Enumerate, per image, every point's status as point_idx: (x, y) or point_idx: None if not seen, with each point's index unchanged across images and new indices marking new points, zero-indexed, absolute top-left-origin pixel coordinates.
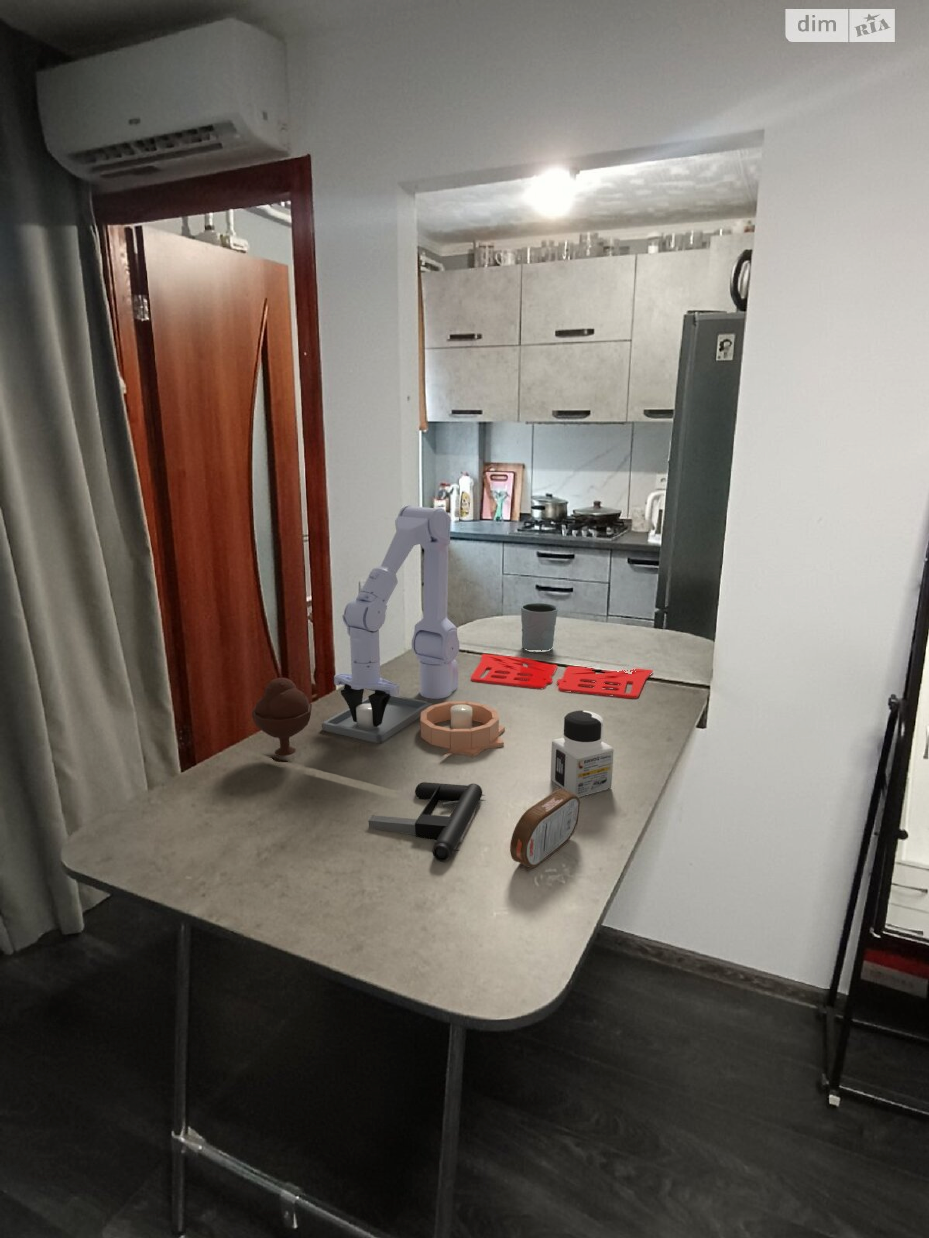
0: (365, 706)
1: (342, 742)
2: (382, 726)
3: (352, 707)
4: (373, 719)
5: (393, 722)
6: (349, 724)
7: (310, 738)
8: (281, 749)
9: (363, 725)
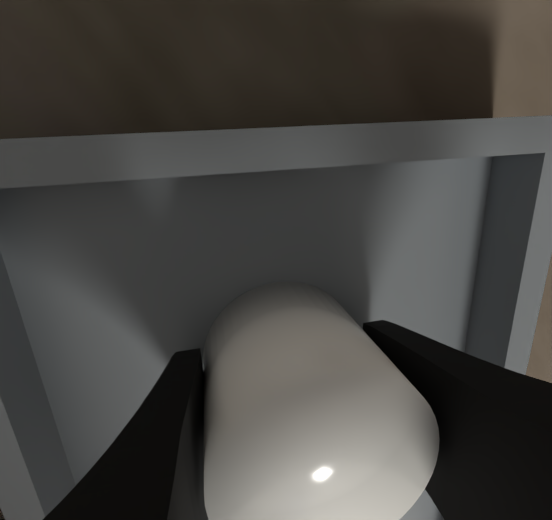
0: (361, 481)
1: (301, 85)
2: None
3: (464, 379)
4: (184, 378)
5: None
6: (400, 298)
7: (534, 23)
8: None
9: (265, 300)
